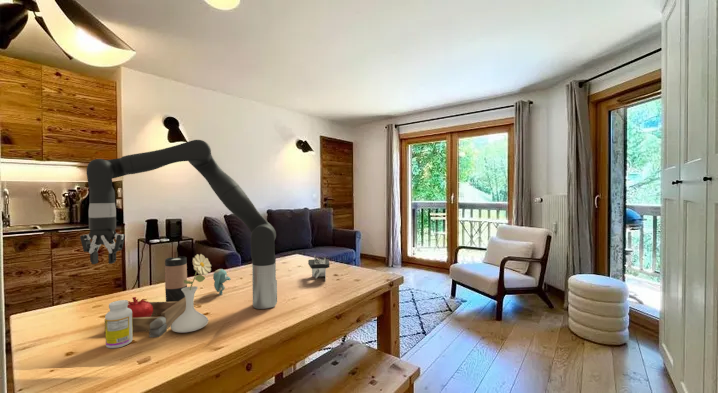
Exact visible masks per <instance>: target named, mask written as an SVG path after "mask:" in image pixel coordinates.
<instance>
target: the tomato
mask: <svg viewBox="0 0 718 393" xmlns="http://www.w3.org/2000/svg"><path fill="white" fill-rule="evenodd" d="M131 299H132V301H128V306H127V308H130V309H131V310H132V318H134V317H152V316H153V315H152V313H153V306H152V305H151V303H150V302H151V301H147V299H148V298H147V299H145V298H143V299H141V300H139V298H137V297H136V296H133V297H132V298H131Z"/></svg>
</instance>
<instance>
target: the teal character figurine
mask: <svg viewBox="0 0 718 393" xmlns="http://www.w3.org/2000/svg"><path fill="white" fill-rule="evenodd" d="M212 277H213V281H214V283H213V286H214V289H215V291H216V292H217V293H218V296H223V293H224V290H225V289H226V286H225V285H224V283H226V282H227V281H230V280H231V277H230V276H228V273H227V270H225V269H223V268H219V269H217V270H215V271H214V272H213V275H212Z"/></svg>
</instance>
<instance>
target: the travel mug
mask: <svg viewBox="0 0 718 393" xmlns="http://www.w3.org/2000/svg"><path fill="white" fill-rule="evenodd" d="M164 260H165V262H164V264H165V266H164V270H165V272H164V275H165V276H164V277H165V278H164V279H165V280H164V287H165V288H164V290H165V302H174V301H180V300H181V299H183V298H184V297H185V295H184V293H183V291H182V290H181V289H182V288H185V287H188V284H185V283H184V280H186V281H188V270H187V269H188V265H187V264H188V262H187V261H188V260H187V257H186V256H178V257H166V258H165V259H164Z"/></svg>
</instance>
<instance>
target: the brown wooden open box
mask: <svg viewBox="0 0 718 393" xmlns="http://www.w3.org/2000/svg"><path fill="white" fill-rule="evenodd" d="M149 302H150V303H151V305H152V306H153V313H152V315H151V317H134V318H132V326H133V333H141V332H142V333H143V332H148V333H149V338H160V337H161V336H162V335H164V334H165V333H166V332H167V330H168V329H169V328H171V325H172V323H173V322H174V321H175V320H176V319H177V318H178V317H179V316H180V315H182V314H183V313H184V311H185V310H186V298H185V297H184V298H183V299H181V300H180V301H174V302H166V301H149ZM153 315H160V316H153Z"/></svg>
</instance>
